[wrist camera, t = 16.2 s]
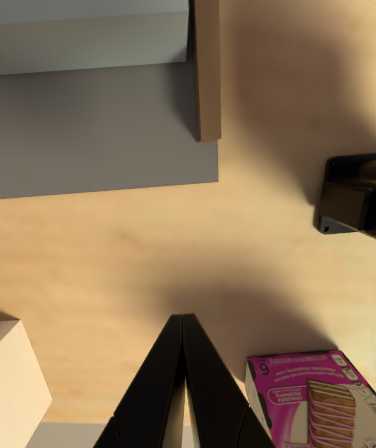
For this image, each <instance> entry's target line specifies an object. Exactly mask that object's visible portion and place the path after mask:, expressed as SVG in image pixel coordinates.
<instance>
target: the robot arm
mask: <svg viewBox="0 0 376 448" xmlns="http://www.w3.org/2000/svg"><path fill="white" fill-rule="evenodd" d="M334 161H336V164H335V165H333V163H334ZM324 227H326V229H325V230H323V229H324ZM318 231H319V232H320V233H322V234H337V233H350V232H360V233H362V234H365V235H367V236H370V237H372V238H374V239H376V153H371V154H358V155H345V156H334V157H331V158H329V160H328V161H327V165H326V172H325V179H324V185H323V189H322V196H321V203H320V210H319V221H318ZM185 388H187V397H188V404H189V412H190V419H191V427H192V433H193V442H194V448H276V446H275V444H274V443H273V441H272V440H271V438H270V437H269V435H268V434H267V432H266V430H265V429H264V427H263V426H262V424H261V422H260V421H259V419H258V418H257V416H256V414H255V413H254V411H253V409H252V408H251V407H249V403H248V401H247V400H246V398H245V396H244V395H243V393H242V391H241V390H240V388H239V386H238V385H237V383H236V381H235V380H234V378H233V376H232V375H231V373H230V371H229V370H228V368H227V366H226V365H225V363H224V361H223V360H222V358H221V357H220V355H219V353H218V352H217V350H216V348H215V347H214V345H213V343H212V342H211V340H210V338H209V337H208V335H207V333H206V332H205V330H204V328H203V327H202V325H201V323H200V322H199V320H198V318H197V317H196V315H195V314H194V313H184V314H183V315H182V314H172V315H171V316H170V317H169V319H168V321H167V323H166V324H165V326H164V328H163V329H162V331H161V333H160V334H159V336H158V338H157V340H156V341H155V343H154V345H153V346H152V348H151V350H150V352H149V353H148V355H147V357H146V358H145V360H144V362H143V364H142V365H141V367H140V369H139V370H138V372H137V374H136V375H135V377H134V379H133V381H132V382H131V384H130V386H129V387H128V389H127V391H126V393H125V394H124V396H123V398H122V399H121V401H120V403H119V404H118V406H117V408H116V410H115V411H114V413H113V415H114V417H113V416H112V417H111V418H110V420H109V421H108V423H107V425H106V427H105V428H104V430H103V432H102V433H101V435H100V437H99V438H98V440H97V442H96V443H95V445H94V446H93V448H181V445H182V431H183V417H184V404H185Z"/></svg>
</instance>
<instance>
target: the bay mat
mask: <svg viewBox="0 0 376 448" xmlns="http://www.w3.org/2000/svg"><path fill="white" fill-rule="evenodd" d="M188 7H189V15H188V32H187V50H186V62H172V63H158V64H145V65H131V66H117V67H103V68H89V69H75V70H61V71H48V72H34V73H20V74H6V75H0V199H7V198H20V197H33V196H45V195H58V194H71V193H83V192H96V191H109V190H122V189H134V188H147V187H160V186H172V185H185V184H198V183H210V182H218V144H217V140H216V141H214V142H202V143H197V125H196V106H195V88H194V69H193V51H192V32H191V14H190V0H188Z"/></svg>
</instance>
